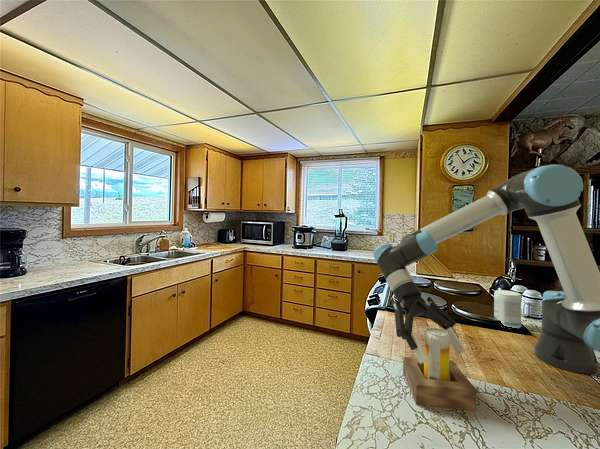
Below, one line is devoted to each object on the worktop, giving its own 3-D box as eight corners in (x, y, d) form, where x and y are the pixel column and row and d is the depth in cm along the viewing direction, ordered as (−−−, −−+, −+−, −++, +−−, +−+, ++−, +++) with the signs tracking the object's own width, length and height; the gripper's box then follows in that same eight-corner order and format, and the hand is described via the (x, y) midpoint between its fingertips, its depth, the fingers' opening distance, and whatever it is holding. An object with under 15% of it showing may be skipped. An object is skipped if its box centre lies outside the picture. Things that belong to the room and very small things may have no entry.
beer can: (449, 384, 74) (450, 330, 74) (447, 395, 69) (448, 338, 69) (425, 376, 78) (426, 325, 77) (421, 387, 73) (423, 332, 72)
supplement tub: (524, 326, 118) (525, 293, 118) (516, 331, 113) (516, 296, 113) (498, 319, 127) (499, 288, 126) (489, 323, 121) (490, 291, 121)
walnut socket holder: (452, 377, 79) (452, 360, 79) (476, 410, 66) (476, 390, 65) (403, 373, 81) (403, 356, 81) (416, 404, 68) (416, 384, 67)
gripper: (426, 290, 92) (467, 353, 78) (365, 297, 83) (399, 370, 69) (439, 277, 87) (485, 343, 73) (376, 283, 78) (415, 360, 64)
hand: (443, 357), depth 71 cm, fingers open, 13 cm apart
